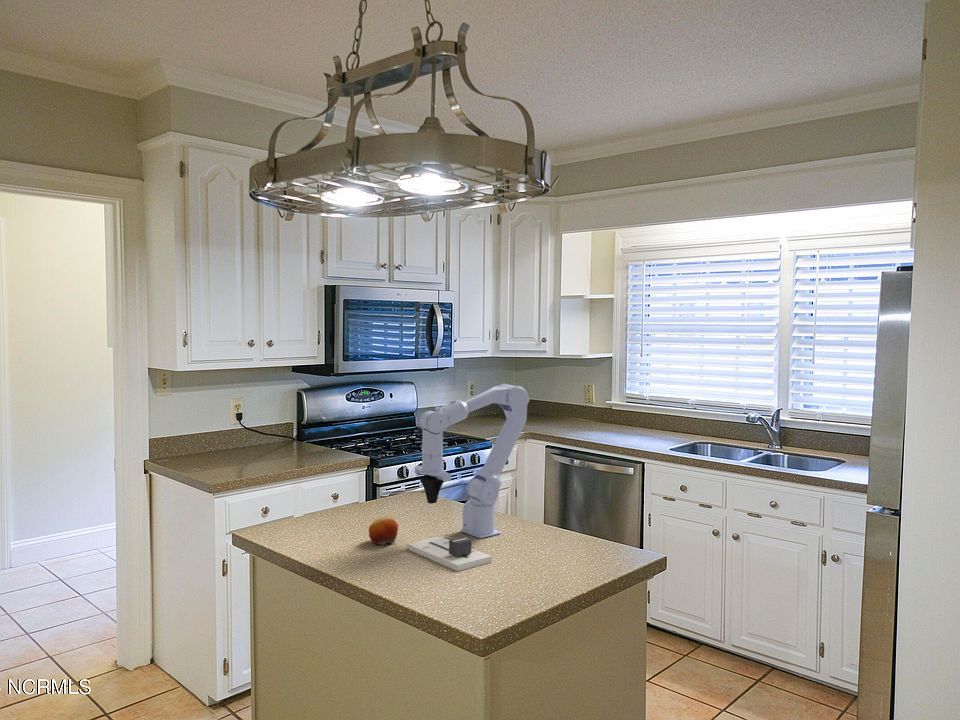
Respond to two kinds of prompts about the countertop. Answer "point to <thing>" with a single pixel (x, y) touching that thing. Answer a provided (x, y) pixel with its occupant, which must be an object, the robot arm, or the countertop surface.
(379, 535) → the fruit
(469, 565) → the fader console
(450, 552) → the fader knob
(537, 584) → the countertop surface
